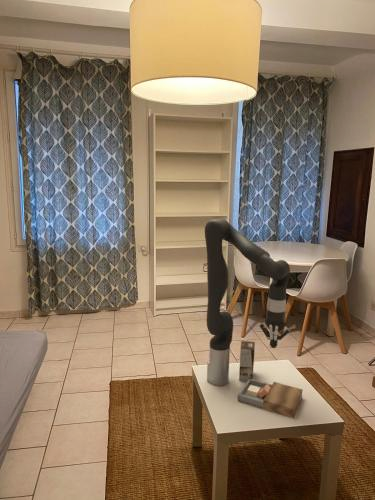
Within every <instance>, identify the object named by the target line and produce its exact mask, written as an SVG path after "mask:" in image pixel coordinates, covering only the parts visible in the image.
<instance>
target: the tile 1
mask: <svg viewBox="0 0 375 500" xmlns="http://www.w3.org/2000/svg"><path fill="white" fill-rule="evenodd" d="M259 392H260V387H256V386H253V385H250V386H249V388H248V390H247V394H249V395H252V396H256V397H257V396H258V393H259Z"/></svg>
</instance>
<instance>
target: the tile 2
mask: <svg viewBox="0 0 375 500" xmlns="http://www.w3.org/2000/svg"><path fill="white" fill-rule="evenodd" d="M268 384H269V383H268ZM268 384H267V385H266V386H264V387H263V388H262V389H261V390H260V392H259V393H258V396H259V397H260V398H262V397H263V396H265V395H266V394H267V393H268V392H269V390H270V388H271V387H270V386H269V385H268Z"/></svg>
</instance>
